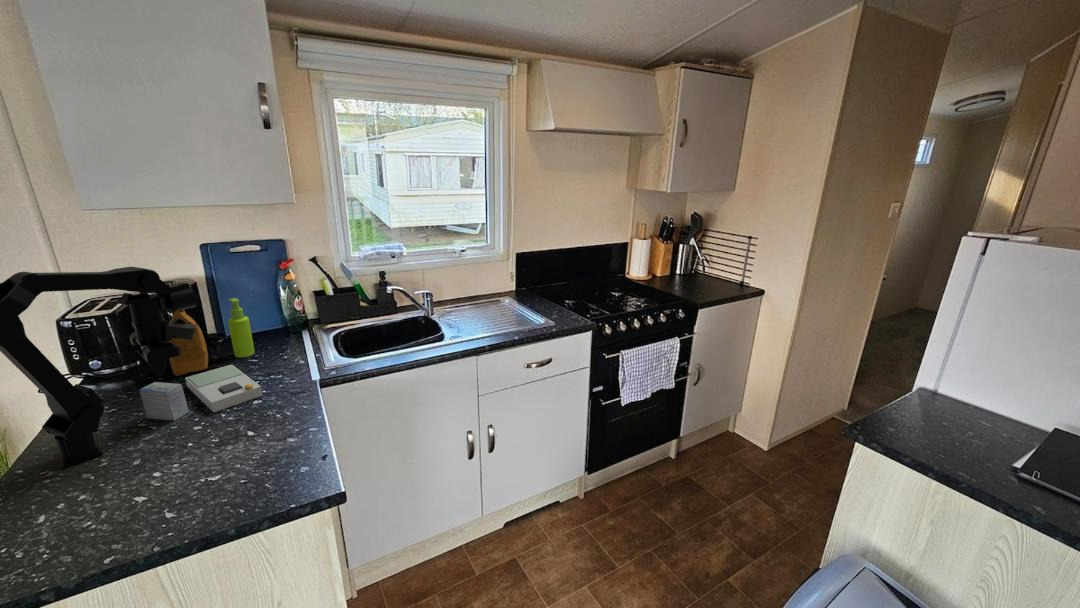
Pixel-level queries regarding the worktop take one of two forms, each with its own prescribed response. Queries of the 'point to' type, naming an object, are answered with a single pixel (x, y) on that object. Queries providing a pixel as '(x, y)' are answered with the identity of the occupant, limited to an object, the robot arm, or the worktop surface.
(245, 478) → the worktop surface
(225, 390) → the push button
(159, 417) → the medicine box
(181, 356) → the amber trigger bottle
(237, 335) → the soap dispenser
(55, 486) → the worktop surface
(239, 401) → the switch panel
